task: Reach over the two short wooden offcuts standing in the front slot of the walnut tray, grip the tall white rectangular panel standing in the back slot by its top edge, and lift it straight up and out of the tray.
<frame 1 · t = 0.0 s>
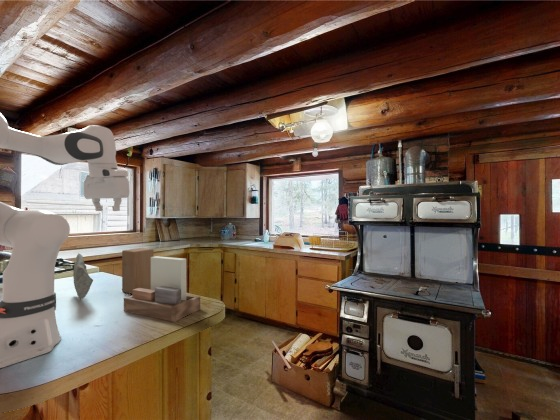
hand: (107, 211, 101), 39 cm above the countertop, tool pointing down, fingers open, 8 cm apart
rock: (80, 300, 122), on the countertop
white rectangular panel: (168, 307, 112), resting in walnut tray
walnut tray: (162, 310, 109), on the countertop
charcoal offcut: (167, 315, 104), resting in walnut tray
cedar offcut: (144, 310, 109), resting in walnut tray
wooden block: (138, 291, 136), on the countertop
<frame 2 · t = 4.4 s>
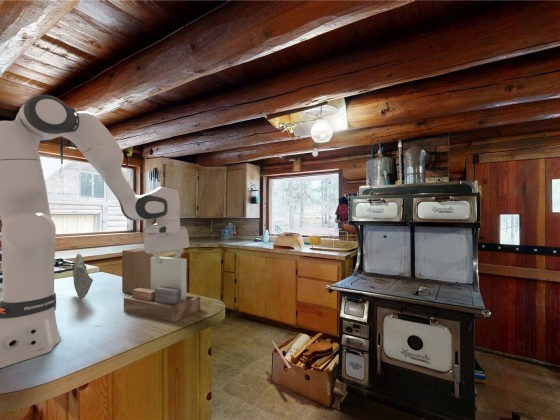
hand: (168, 261, 112), 18 cm above the countertop, tool pointing down, fingers open, 8 cm apart
nothing on the countertop moved.
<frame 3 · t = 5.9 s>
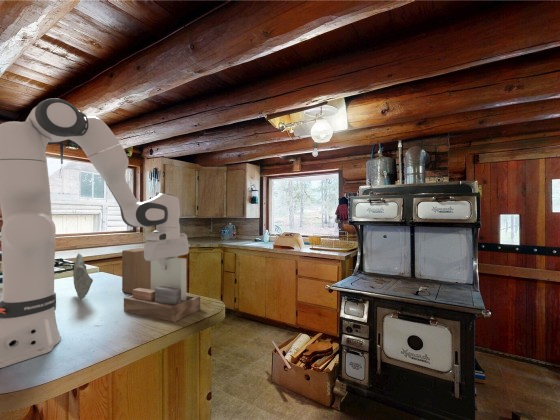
hand: (168, 268, 112), 16 cm above the countertop, tool pointing down, fingers closed on white rectangular panel, 3 cm apart
white rectangular panel: (168, 307, 112), resting in walnut tray, touching gripper
everything else where it was.
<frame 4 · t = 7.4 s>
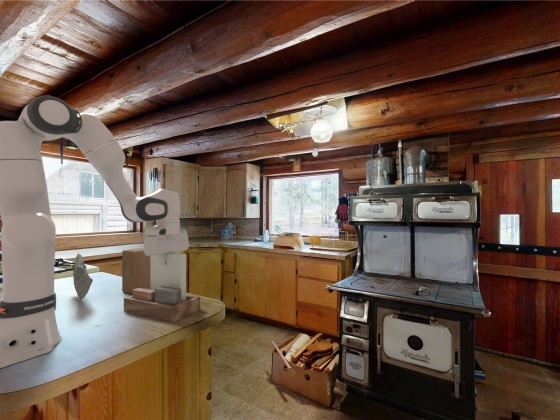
hand: (168, 264, 112), 17 cm above the countertop, tool pointing down, fingers closed on white rectangular panel, 3 cm apart
white rectangular panel: (167, 303, 112), point 2 cm above the countertop, touching gripper
everything else where it was.
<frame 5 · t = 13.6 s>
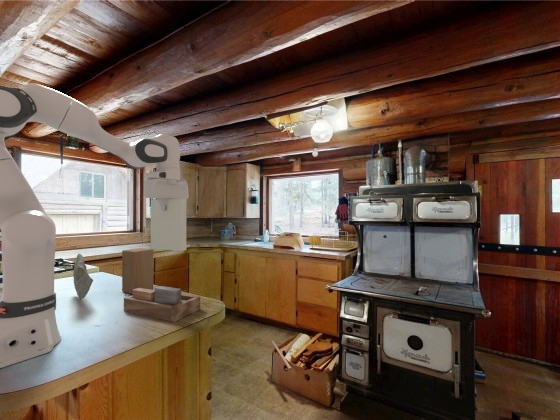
hand: (168, 210, 112), 39 cm above the countertop, tool pointing down, fingers closed on white rectangular panel, 3 cm apart
white rectangular panel: (168, 249, 112), point 23 cm above the countertop, touching gripper
everything else where it was.
at the end: the gripper is holding white rectangular panel; white rectangular panel point 23.4 cm above the countertop; charcoal offcut moved 0.1 cm from its start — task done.
